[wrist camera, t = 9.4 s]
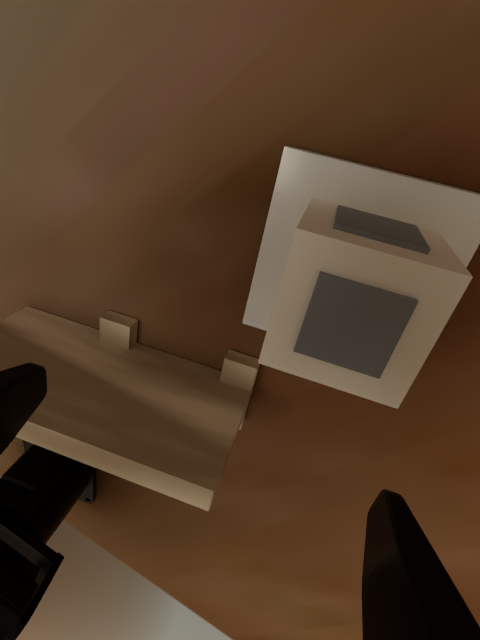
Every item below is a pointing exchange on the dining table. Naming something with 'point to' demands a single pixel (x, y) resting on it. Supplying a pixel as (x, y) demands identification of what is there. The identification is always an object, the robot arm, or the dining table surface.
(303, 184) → the cream square tile
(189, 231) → the dining table surface
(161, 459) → the oak screen
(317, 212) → the cream grey-paneled cube
